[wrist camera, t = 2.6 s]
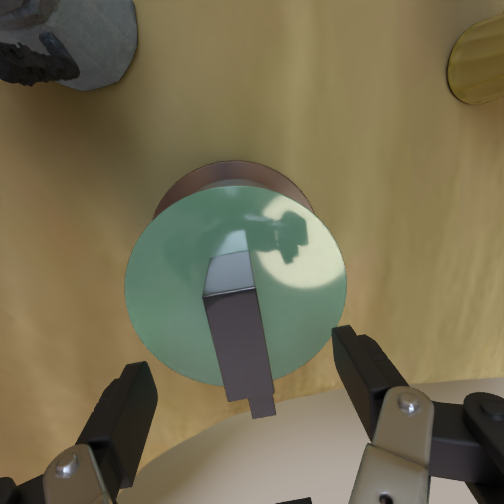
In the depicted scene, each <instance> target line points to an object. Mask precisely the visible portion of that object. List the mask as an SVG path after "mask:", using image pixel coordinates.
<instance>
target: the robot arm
mask: <svg viewBox="0 0 504 504" xmlns="http://www.w3.org/2000/svg"><path fill="white" fill-rule="evenodd" d="M331 333H332V344H333V354H334V361H335V365H336V369H337V371H338V374H339V376H340V378H341V380H342V382H343V384H344V386H345V388H346V390H347V393H348V395H349V397H350V399H351V401H352V403H353V405H354V407H355V409H356V411H357V413H358V416H359V418H360V420H361V422H362V424H363V426H364V428H365V430H366V432H367V435H368V437H369V439H370V441H371V444H370V443H367V445H366V447H365V450H364V453H363V456H362V460H361V463H360V467H359V470H358V473H357V476H356V480H355V483H354V487H353V490H352V494H351V497H350V500H349V503H348V504H429V494H430V483H431V476H434V477H440V478H446V479H452V480H458V481H464V482H465V483H466V485H467V487H468V488H469V490H470V491H471V493H472V494H473V496H474V498H475V499H476V500H477V502H478V504H504V398H502V397H499V396H497V395H494V394H490V393H485V392H475V393H471V394H469V395H467V396H466V397H465V399H464V404H463V405H461V404H450V403H441V402H435V401H432V400H430V398H429V397H428V396H427V395H426V394H424V393H423V392H421V391H420V390H417V389H415V388H412V387H410V386H409V385H408V383H407V382H406V381H405V379H404V378H403V377H402V375H401V374H400V373H399V371H398V370H397V369H396V368H395V366H394V365H393V364H392V362H391V361H390V360H389V359H388V357H387V356H386V354H385V353H384V352H383V351H382V349H381V348H380V346H379V345H378V344H377V342H376V341H375V340H373V339H372V338H370V337H368V336H367V335H365V334H364V335H359V336H357V335H356V333H355V332H354V330H353V329H352V327H351V326H350V325H344V326H339V327H333V328H332V329H331ZM157 401H158V394H157V389H156V386H155V383H154V380H153V377H152V374H151V371H150V368H149V366H148V363H147V362H146V361H143V362H137V363H132V364H127V365H126V366H125V368H124V370H123V372H122V374H121V376H120V378H118V379H114V380H113V381H112V383H111V384H110V385H109V386H108V387H107V388H106V389H105V390H104V392H103V394H102V396H101V397H100V399H99V403H97V405H96V407H95V408H94V412H92V414H91V416H90V418H89V419H88V421H87V423H86V425H85V427H84V429H83V431H82V432H81V434H80V436H79V438H78V440H77V442H76V443H75V445H74V446H72V447H70V448H68V449H66V450H64V451H63V452H62V453H60V454H59V455H58V456H57V457H56V458H55V459H54V460H53V461H52V462H51V463H50V464H49V466H48V467H47V469H46V471H45V473H44V474H42V475H40V476H38V477H36V478H34V479H31V480H29V481H27V482H25V483H23V484H21V485H18V486H16V484H15V482H14V481H13V479H11V478H9V477H2V478H0V504H118V503H117V501H116V498H117V495H118V492H119V489H123V488H128V487H132V485H133V482H134V479H135V475H136V472H137V469H138V466H139V462H140V459H141V456H142V452H143V449H144V446H145V442H146V439H147V436H148V433H149V429H150V426H151V423H152V419H153V416H154V413H155V409H156V406H157ZM276 504H312V501H311V498H310V497H308V498H303V499H297V500H292V501H286V502H281V503H276Z"/></svg>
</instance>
